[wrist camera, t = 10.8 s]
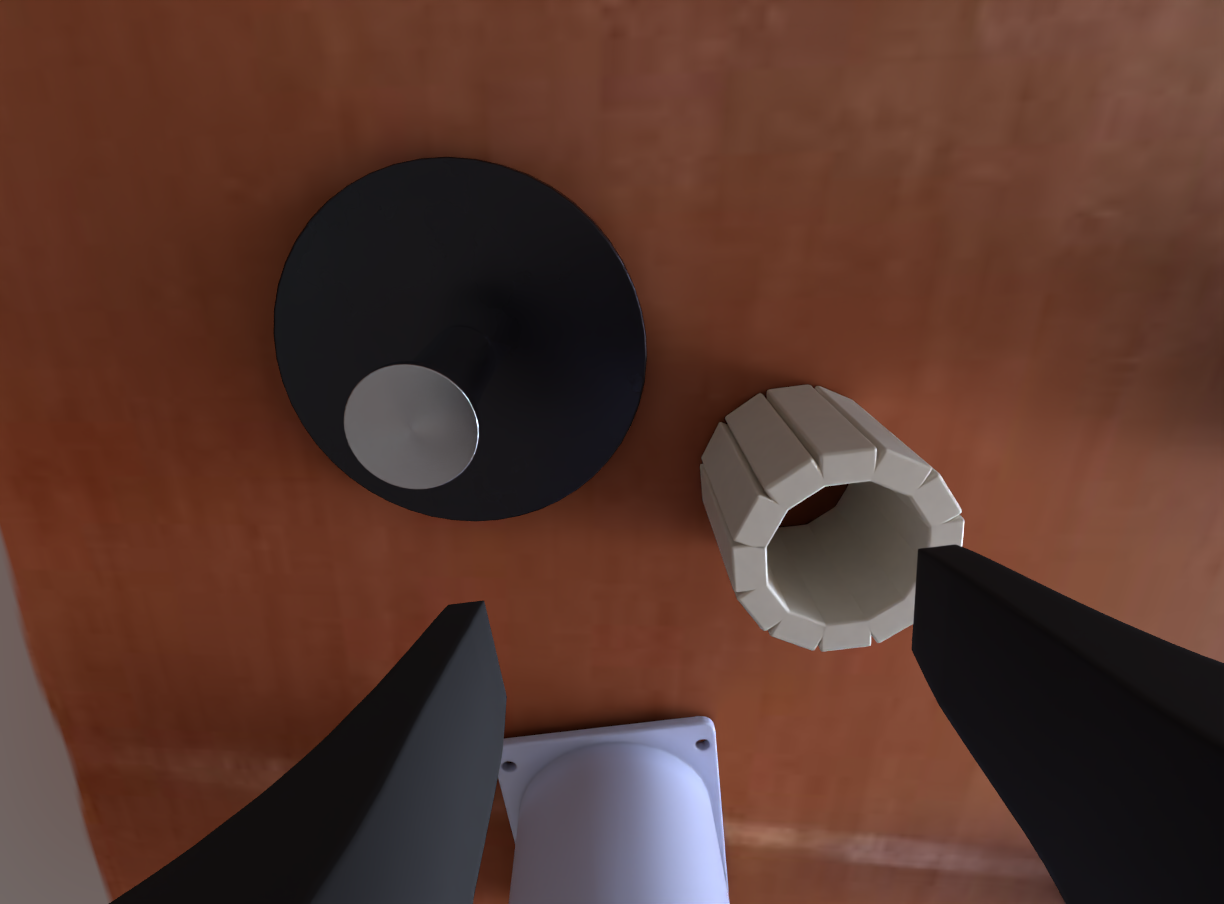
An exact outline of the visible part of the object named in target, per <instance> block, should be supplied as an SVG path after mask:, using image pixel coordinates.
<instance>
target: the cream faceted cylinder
mask: <svg viewBox="0 0 1224 904" xmlns="http://www.w3.org/2000/svg"><path fill="white" fill-rule="evenodd" d="M725 420H726V422H727V424H728V425H727V424H725V423H722V422H719V424H718V426H717V428H716V430H715V432H714V434H713V436H712V438H711V439H710V441H709V443H708V445H707V447H706V449H705V451H704V453H703V455H702V457H701V459H702V462H703V464H700V475H701V487H702V500H703V503H704V506H705V509H706V512H707V515H708V518H709V520H710V523H711V526H712V529H713V532H714V535H715V538H716V541H717V544H718V547H719V550H720V553H721V556H722V558H723V561H724V564H725V567H726V570H727V573H728V576H729V579H730V582H731V585H732V588H733V590H734V591H735V594H736V597H737V600H738V601H739V602H740V603H741V604H742V606H743V607H744V608H745V609H746V611H747V612H748V613H749V614H750V615H751V617H752V618H753V619H754V620H755V622H756V623H757V624H758V625H759V626H760V628H761V629H762V630H764V631H766V630H768V632H769V634H770V635H771V636H772V637H775V638H778V639H781V640H784V641H787V642H790V643H792V644H795V645H798V646H801V647H804V648H807V649H810V650H814V649H815V648H816V647H817V645H818V646H819V648H820V650H821V651H831V650H840V649H848V648H857V647H865V646H870V645H871V635H872V637H873V638H874V639H875V641H876V642H878V643H880V642H882V641H884V640H885V639H887V638H889V637H891V636H892V635H894V634H896V633H898V632H899V631H901V630H903V629H905V628H906V627H908V626H910V625H912V624H913V620H914V604H915V588H916V572H917V556H918V549H920V548H929V547H937V546H945V545H954V544H956V545H959V546H961V547H962V542H963V531H964V519H963V518H962V517H961V516H960V515H959V514H960V513H961V512H962V511H961V508H960V506H959V504H958V503H957V501H956V500H955V498H954V496H953V495H952V493H951V491H950V490H949V488H948V487H947V485H946V483H945V482H944V480H943V478H942V477H941V475H940V474H939V473H938V472H937V471H936V470H935V469H933V468H932V467H931V466H930V465H929V464H927V463H926V462H925V461H924V460H923V459H922V458H920V457H919V456H918V455H917V454H916V453H915V452H913V451H912V450H911V449H910V448H909V447H907V446H906V445H905V444H904V443H903V442H902V441H900V440H899V439H898V438H897V437H896V436H894V435H893V434H892V433H891V432H890V431H889V430H887V429H886V428H885V427H884V426H883V425H882V424H880V423H879V422H878V421H877V420H876V419H874V418H873V417H872V416H871V415H870V414H869V413H867V412H866V411H865V410H864V409H863V408H862V407H860V406H859V405H858V404H857V403H856V402H854V401H853V400H851V399H849V398H847V397H844V396H842V395H840V394H837V393H835V392H833V391H830V390H828V389H826V388H823V387H821V386H816V387H815V388H813V387H812V386H811V385H808V384H807V385H799V386H791V387H783V388H776V389H769V390H767V399H766V398H765V397H764V395H763V394H761V393H759V394H757V395H756V396H754V397H753V398H751V399H750V400H748V401H747V402H746V403H744V404H743V405H741V406H740V407H738V408H737V409H735V410H734V411H733V412H731V413H730V414H728V415H727V416H726V417H725ZM842 484H849V485H848V487H847V488H846V490H845V492H844V493H843V495H842V497H841V498H840V500H839V501H838V503H837V505H836V506H835V507H834V508H832V509H831V510H829V511H828V512H826V513H824V514H823V515H821V516H820V517H818V518H817V519H815V520H813V521H812V522H810V523H809V524H806V525H798V526H789V527H781V528H778V527H779V525H780V523H781V522H782V520H783V518H784V516H785V515H786V513H787V511H788V510H789V509H791V508H793V507H794V506H796V505H797V504H799V503H800V502H802V501H803V500H805V499H807V498H808V497H810V496H811V495H813V494H814V493H816V492H817V491H819V490H821V489H822V488H824V487H826V486H834V485H842Z"/></svg>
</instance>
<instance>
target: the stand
mask: <svg viewBox="0 0 1224 904" xmlns="http://www.w3.org/2000/svg"><path fill="white" fill-rule="evenodd" d="M274 341H275V349H276V357H277V362H278V366H279V370H280V374H281V377H282V381H283V384H284V387H285V389H286V392H287V394H288V397H289V399H290V402H291V404H292V406H293V408H294V410H295V411H296V413H297V415H298V417H299V419H300V421H301V422H302V424H303V426H304V427H305V429H306V430H307V431H308V433H309V434H310V436H311V437H312V439H313V440H314V441H315V443H316V444H317V445H318V446H319V448H320V449H321V450H322V451H323V452H324V453H325V454H326V455H327V456H328V457H329V459H330V460H331V461H332V462H333V463H334V464H335V465H337V466H338V467H339V468H340V469H341V470H342V471H343V472H344V473H346V474H347V475H348V476H349V477H350V478H352V479H353V480H354V481H356V482H357V483H359V484H360V485H362V486H363V487H364V488H366V489H367V490H369V491H371V492H372V493H374V494H376V495H378V496H380V497H382V498H383V499H385V500H387V501H389V502H391V503H394V504H396V505H399V506H401V507H403V508H406V509H408V510H411V511H414V512H418V513H421V514H425V515H428V516H432V517H438V518H444V519H450V520H461V521H488V520H499V519H505V518H510V517H516V516H520V515H523V514H527V513H530V512H533V511H536V510H539V509H542V508H544V507H546V506H548V505H550V504H553V503H555V502H557V501H559V500H561V499H562V498H564V497H566V496H567V495H569V494H571V493H572V492H574V491H576V490H577V489H578V488H580V487H581V486H582V485H583V484H585V483H586V482H587V481H588V480H590V479H591V478H592V477H593V476H594V475H595V474H596V473H597V472H598V471H599V470H600V469H601V468H602V467H603V466H604V465H605V464H606V463H607V462H608V461H609V459H610V458H611V457H612V455H613V454H614V452H615V451H616V450H617V448H618V447H619V446H620V444H621V443H622V441H623V439H624V437H625V435H626V434H627V432H628V430H629V428H630V426H631V424H632V422H633V419H634V417H635V414H636V411H637V409H638V406H639V403H640V399H641V395H642V391H643V386H644V382H645V373H646V362H647V349H646V332H645V326H644V320H643V315H642V310H641V307H640V303H639V300H638V297H637V294H636V290H635V287H634V285H633V282H632V280H631V278H630V276H629V274H628V271H627V269H626V267H625V265H624V263H623V261H622V259H621V258H620V256H619V254H618V253H617V251H616V250H615V248H614V246H613V245H612V243H611V242H610V240H609V239H608V238H607V236H606V235H605V234H604V233H603V232H602V230H601V229H600V228H599V227H598V225H597V224H596V223H595V222H594V221H593V220H592V219H591V218H590V217H589V216H588V215H587V214H586V213H585V212H584V211H583V210H582V209H581V208H580V207H578V206H577V205H576V204H575V203H574V202H573V201H571V200H570V199H569V198H567V197H566V196H564V195H563V194H562V193H560V192H559V191H557V190H556V189H555V188H553V187H552V186H550V185H548V184H546V183H544V182H542V181H540V180H538V179H536V178H535V177H533V176H531V175H529V174H526V173H523V172H521V171H518V170H515V169H513V168H510V167H507V166H504V165H500V164H495V163H491V162H487V161H482V160H477V159H468V158H455V157H437V158H421V159H416V160H411V161H406V162H402V163H397V164H393V165H390V166H388V167H385V168H382V169H380V170H377V171H374V172H372V173H369V174H367V175H366V176H364V177H362V178H360V179H358V180H357V181H355V182H353V183H351V184H349V185H348V186H346V187H345V188H344V189H342V190H341V191H340V192H339V193H337V194H336V195H335V196H333V197H332V198H331V199H330V200H328V201H327V202H326V203H325V204H324V205H323V206H322V207H321V208H320V210H319V211H318V212H317V213H316V214H315V215H314V216H313V217H312V218H311V219H310V220H309V222H308V223H307V225H306V226H305V228H304V229H303V231H302V232H301V233H300V235H299V236H298V238H297V239H296V241H295V243H294V245H293V247H292V249H291V251H290V253H289V255H288V258H287V260H286V262H285V265H284V268H283V271H282V274H281V277H280V281H279V284H278V289H277V295H276V301H275V307H274Z"/></svg>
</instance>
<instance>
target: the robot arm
mask: <svg viewBox="0 0 1224 904" xmlns="http://www.w3.org/2000/svg"><path fill="white" fill-rule="evenodd" d="M912 651H913V653H914V656H915V658H916V660H917V662H918V664H919V666H920V668H921V670H922V672H923V674H924V677H925V679H926V681H927V683H928V685H929V686H930V688H931V690H932V692H933V694H934V696H935V698H936V700H937V702H938V704H939V706H940V707H941V709H942V710H943V712H944V713H945V715H946V717H947V718H948V720H949V721H950V723H951V724H952V726H953V727H954V729H955V730H956V732H957V733H958V735H959V736H960V738H961V739H962V741H963V742H964V744H965V745H966V747H967V748H968V750H969V751H970V753H971V754H972V756H973V757H974V759H975V760H976V762H977V763H978V765H979V766H980V768H981V769H982V771H983V772H984V774H985V775H986V777H987V778H988V779H989V781H990V782H991V784H992V785H993V787H994V788H995V790H996V791H997V793H998V794H999V796H1000V797H1001V799H1002V800H1003V802H1004V803H1005V805H1006V806H1007V808H1008V809H1009V811H1010V812H1011V814H1012V815H1013V817H1014V818H1015V820H1016V821H1017V822H1018V824H1019V825H1020V827H1021V828H1022V830H1023V831H1024V833H1025V834H1026V836H1027V838H1028V839H1029V841H1030V842H1031V844H1032V846H1033V847H1034V849H1035V850H1036V852H1037V854H1038V855H1039V857H1040V859H1041V860H1042V862H1043V863H1044V865H1045V867H1046V868H1047V870H1048V872H1049V874H1050V876H1051V878H1052V879H1053V881H1054V883H1055V885H1056V887H1057V888H1058V890H1059V892H1060V894H1061V896H1062V898H1063V899H1064V901H1065V903H1066V904H1224V663H1222V662H1219V661H1216V660H1213V659H1211V658H1208V657H1205V656H1202V655H1200V654H1197V653H1195V652H1192V651H1190V650H1187V649H1185V648H1182V647H1180V646H1177V645H1175V644H1172V643H1170V642H1167V641H1165V640H1163V639H1160V638H1158V637H1156V636H1153V635H1151V634H1149V633H1146V632H1144V631H1142V630H1139V629H1137V628H1135V627H1132V626H1130V625H1128V624H1125V623H1123V622H1121V621H1118V620H1116V619H1114V618H1112V617H1110V616H1107V615H1105V614H1103V613H1101V612H1099V611H1096V610H1094V609H1092V608H1090V607H1088V606H1086V605H1083V604H1081V603H1079V602H1077V601H1075V600H1073V599H1071V598H1069V597H1067V596H1064V595H1062V594H1060V593H1058V592H1056V591H1054V590H1052V589H1050V588H1048V587H1046V586H1044V585H1042V584H1040V583H1038V582H1036V581H1033V580H1031V579H1029V578H1027V577H1025V576H1023V575H1021V574H1019V573H1017V572H1015V571H1013V570H1011V569H1009V568H1007V567H1005V566H1003V565H1001V564H999V563H997V562H994V561H992V560H990V559H988V558H986V557H984V556H982V555H980V554H977V553H975V552H973V551H971V550H968V549H966V548H964V547H961V546H959V545H956V544H954V545H945V546H937V547H929V548H920V549H918V556H917V572H916V588H915V604H914V620H913V636H912ZM506 698H507V696H506V692H505V688H504V684H503V679H502V675H501V671H500V666H499V662H498V658H497V654H496V649H495V645H494V641H493V637H492V632H491V628H490V624H489V620H488V615H487V611H486V607H485V603H484V601H477V602H468V603H460V604H451V605H448V606H447V607H446V608H445V609H444V610H443V611H442V612H441V613H440V614H439V615H438V617H437V618H436V619H435V620H434V621H433V622H432V623H431V625H430V626H429V627H428V628H427V629H426V630H425V632H424V633H423V634H422V635H421V636H420V637H419V639H418V640H417V641H416V642H415V643H414V644H413V645H412V647H411V648H410V649H409V650H408V651H407V652H406V654H405V655H404V656H403V657H402V658H401V659H400V660H399V661H398V662H397V664H396V665H395V666H394V667H393V668H392V669H391V670H390V671H389V673H388V674H387V675H386V676H385V677H384V678H383V679H382V680H381V681H380V683H379V684H378V685H377V686H376V687H375V688H374V689H373V690H372V691H371V692H370V693H369V694H368V695H367V696H366V697H365V698H364V699H363V700H362V701H361V702H360V703H359V704H358V705H357V706H356V707H355V708H354V709H353V710H352V711H351V712H350V713H349V714H348V715H347V716H346V717H345V719H344V720H343V721H342V722H341V723H340V724H339V725H338V726H337V727H336V728H335V729H334V730H333V731H332V732H331V733H330V734H329V735H328V736H327V737H326V738H324V739H323V740H322V741H321V742H320V743H319V744H318V745H317V746H316V747H315V748H314V749H313V750H312V751H310V752H309V753H308V754H307V755H306V756H305V757H304V758H303V759H302V760H301V761H299V762H298V763H297V764H296V765H295V766H294V767H292V768H291V769H290V770H289V771H288V772H287V773H285V774H284V775H283V776H282V777H281V778H280V779H279V780H277V781H276V782H275V783H274V784H273V785H272V786H270V787H269V788H268V789H267V790H266V791H264V792H263V793H262V794H261V795H259V796H258V797H257V798H256V799H254V800H253V801H252V802H250V803H249V804H248V805H247V806H245V807H244V808H243V809H241V810H240V811H239V812H237V813H236V814H235V815H233V816H232V817H231V818H230V819H228V820H227V821H226V822H224V823H223V824H222V825H220V826H219V827H218V828H216V829H215V830H214V831H213V832H211V833H210V834H209V835H207V836H206V837H205V838H203V839H202V840H201V841H199V842H198V843H197V844H196V845H194V846H193V847H191V848H190V849H189V850H187V851H186V852H185V853H183V854H182V855H180V856H179V857H177V858H176V859H175V860H173V861H172V862H170V863H169V864H167V865H166V866H164V867H163V868H162V869H160V870H159V871H157V872H156V873H154V874H153V875H151V876H150V877H149V878H147V879H146V880H144V881H143V882H141V883H140V884H138V885H137V886H135V887H134V888H132V889H131V890H129V891H127V892H126V893H124V894H123V895H121V896H120V897H118V898H117V899H115V900H114V901H112V902H111V903H109V904H473V898H474V893H475V888H476V883H477V878H478V873H479V868H480V863H481V858H482V853H483V849H484V844H485V839H486V834H487V829H488V824H489V819H490V814H491V809H492V804H493V799H494V794H495V789H496V784H497V779H499V783H500V787H501V791H502V795H503V799H504V802H505V806H506V810H507V814H508V818H509V822H510V826H511V830H512V834H513V838H514V841H515V853H514V862H513V870H512V879H511V887H510V896H509V904H730V903H729V898H728V879H727V867H726V855H725V843H724V831H723V819H722V807H721V795H720V783H719V770H718V758H717V746H716V734H715V728H714V724H713V721H712V720H711V719H710V718H708V717H705V716H695V717H687V718H678V719H669V720H660V721H652V722H643V723H634V724H626V725H617V726H608V727H599V728H591V729H582V730H573V731H565V732H556V733H547V734H538V735H530V736H521V737H512V738H504V728H505V713H506ZM701 739H706V740H705V741H702V742H699V741H698V740H701ZM507 761H511V762H513V763H507Z"/></svg>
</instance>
